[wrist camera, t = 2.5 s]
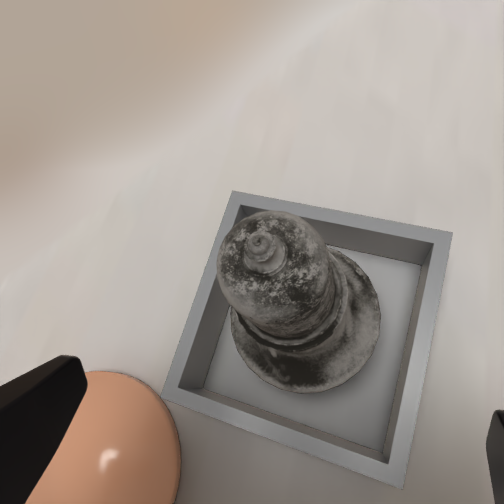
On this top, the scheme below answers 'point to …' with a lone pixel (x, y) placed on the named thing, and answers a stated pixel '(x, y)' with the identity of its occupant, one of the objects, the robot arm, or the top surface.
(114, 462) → the coaster
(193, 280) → the top surface
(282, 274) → the grey tall domed piece
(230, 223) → the tub
